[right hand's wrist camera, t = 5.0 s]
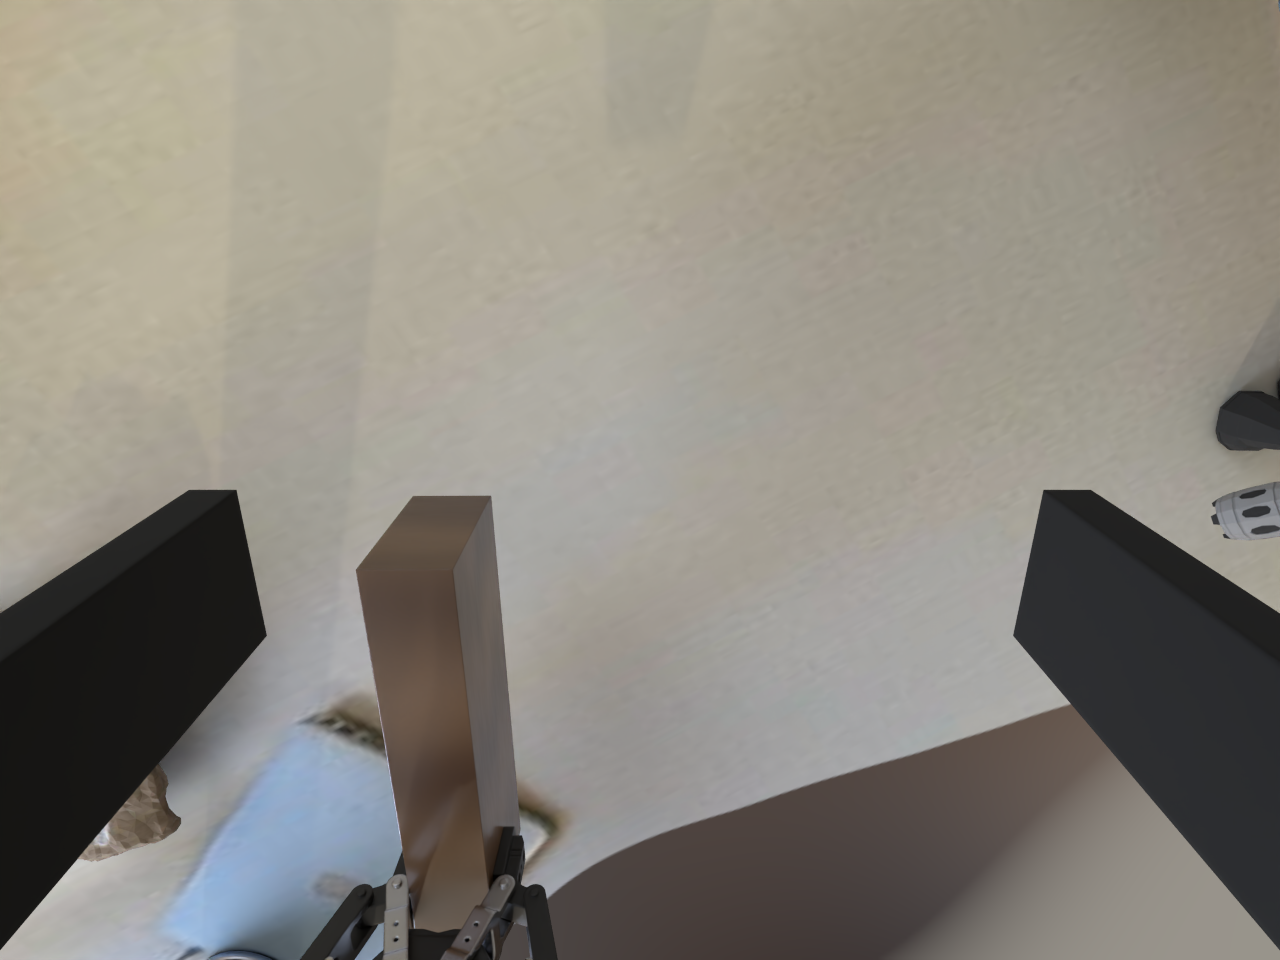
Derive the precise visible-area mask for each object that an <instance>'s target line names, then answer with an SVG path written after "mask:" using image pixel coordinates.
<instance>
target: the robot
mask: <svg viewBox="0 0 1280 960" xmlns="http://www.w3.org/2000/svg"><path fill="white" fill-rule="evenodd" d="M1278 390H1279V399H1280V380H1279V382H1278ZM1279 399H1277V398H1275V397H1273V396H1270V395H1268V394H1265V393H1264V392H1261V391H1239V392H1238V393H1236V394H1235V395H1234V396H1233V397H1232V398H1231V399H1229V400H1228V401H1227V402H1226V403H1225V404H1224V405H1223V406H1221V407H1220V412H1219V417H1218V422H1217V427H1216V434H1217V438H1218V441H1219V442H1220V443H1222V444H1223V445H1224V446H1225V447H1226V448H1227V449H1229V450H1242V451H1245V450H1249V451H1259V450H1261V449H1263V448H1266V449H1277V450H1280V400H1279ZM1212 504H1213V507H1215V506H1216V514H1215V515H1213V516H1211V518H1212V521H1213V524H1217V525H1220V526H1221V527H1222V529H1223V531H1224V532H1225V534H1223V536H1224V538H1228V539H1239V540H1255V539H1266V538H1272V537H1278V536H1280V482H1273V483H1268V484H1264V485H1259V486H1255V487H1251V488H1247V489H1243V490H1240V491H1237V492H1232V493H1230V494H1227V495H1225V496H1222V497H1221V498H1219V499H1217V500H1216V501H1214V502H1213V503H1212Z"/></svg>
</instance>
